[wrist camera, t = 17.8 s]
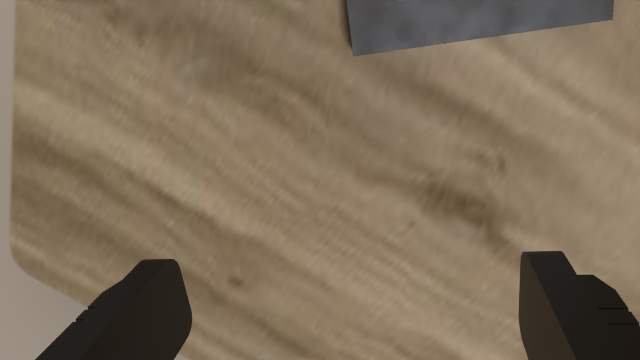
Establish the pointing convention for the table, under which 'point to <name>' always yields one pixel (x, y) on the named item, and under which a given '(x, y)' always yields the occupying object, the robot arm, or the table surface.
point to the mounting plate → (460, 20)
